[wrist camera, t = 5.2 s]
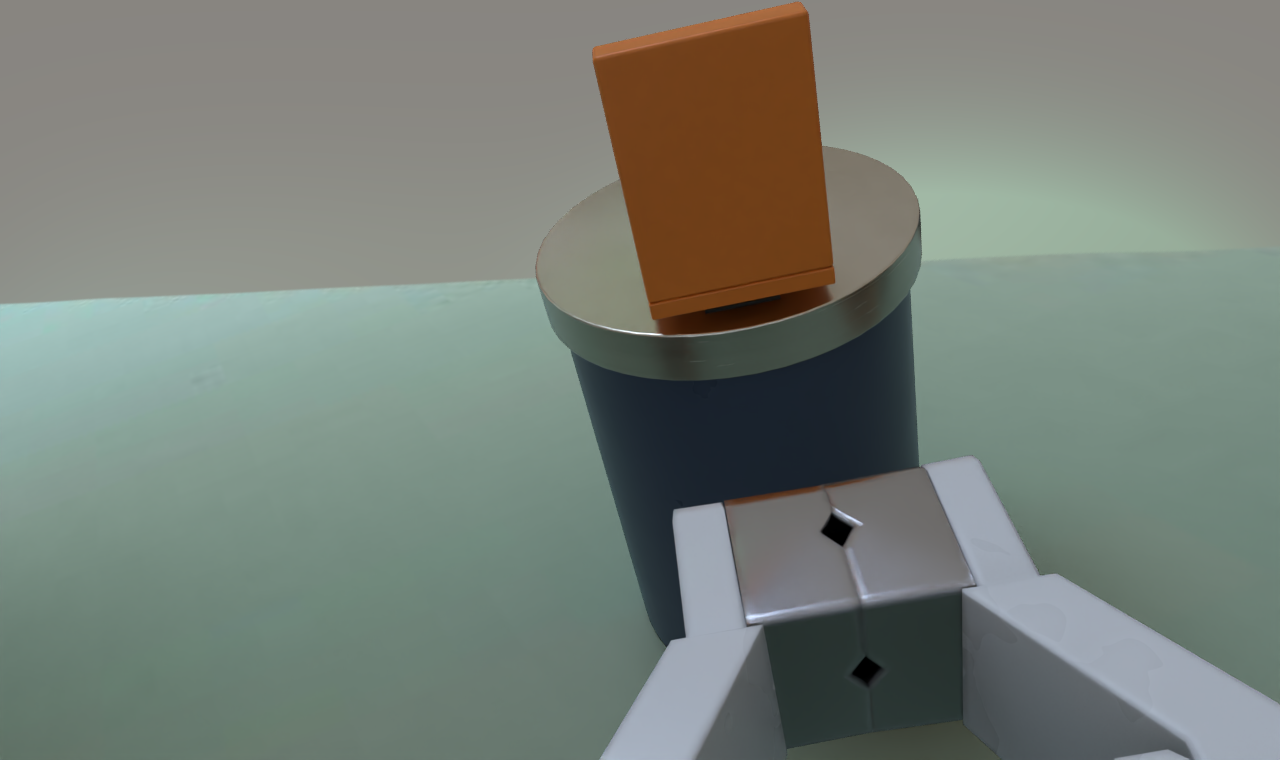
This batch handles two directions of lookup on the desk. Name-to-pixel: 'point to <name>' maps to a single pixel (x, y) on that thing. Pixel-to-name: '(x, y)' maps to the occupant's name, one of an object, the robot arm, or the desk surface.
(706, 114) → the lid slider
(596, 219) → the blue lidded canister
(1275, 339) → the desk surface
